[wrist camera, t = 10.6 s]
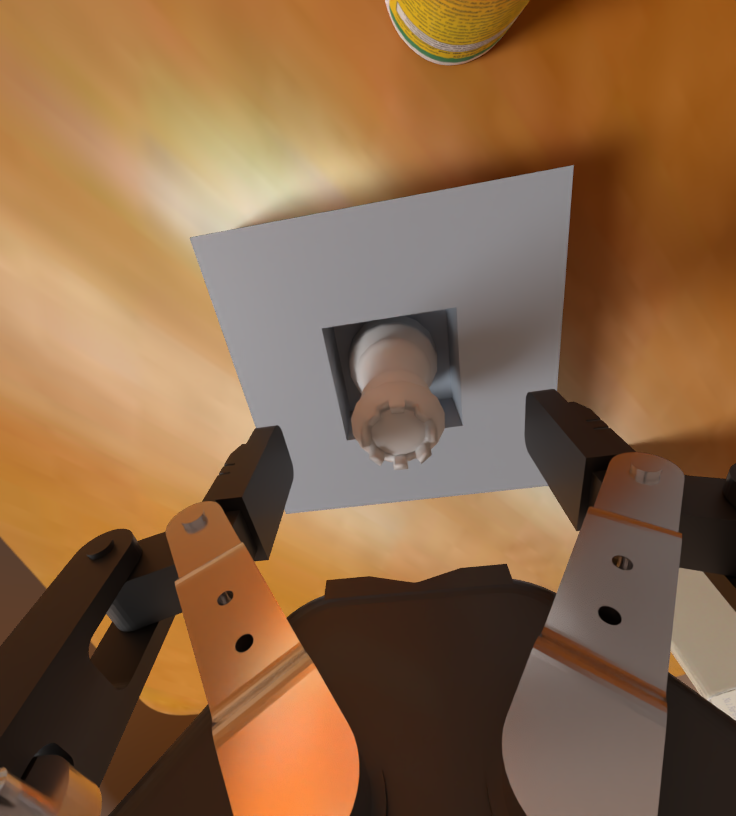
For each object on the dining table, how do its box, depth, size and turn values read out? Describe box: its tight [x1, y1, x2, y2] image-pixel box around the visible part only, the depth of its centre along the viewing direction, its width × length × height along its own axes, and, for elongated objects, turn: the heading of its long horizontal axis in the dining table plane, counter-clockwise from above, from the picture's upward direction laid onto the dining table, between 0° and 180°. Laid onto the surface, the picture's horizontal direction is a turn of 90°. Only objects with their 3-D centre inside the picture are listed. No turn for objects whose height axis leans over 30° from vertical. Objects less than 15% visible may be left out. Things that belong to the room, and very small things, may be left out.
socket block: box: [190, 165, 574, 514], centre depth 18 cm, size 14×14×4 cm
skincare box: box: [670, 568, 736, 720], centre depth 19 cm, size 6×4×12 cm
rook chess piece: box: [348, 316, 445, 470], centre depth 16 cm, size 4×4×8 cm
